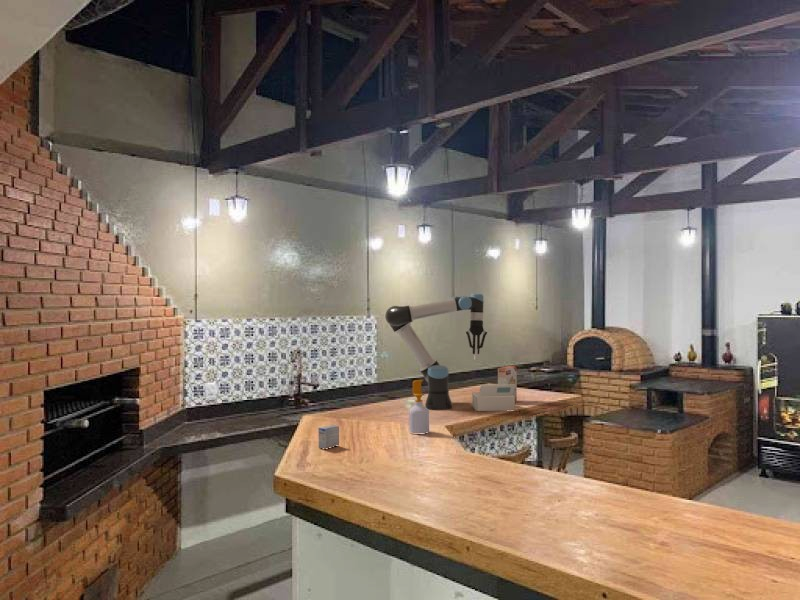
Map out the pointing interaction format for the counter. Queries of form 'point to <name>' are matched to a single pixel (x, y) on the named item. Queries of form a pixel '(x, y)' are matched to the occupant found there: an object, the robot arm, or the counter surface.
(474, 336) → the robot arm
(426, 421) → the soap bottle
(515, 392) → the cracker box
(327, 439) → the medicine box
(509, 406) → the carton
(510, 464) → the counter surface
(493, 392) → the front flap
